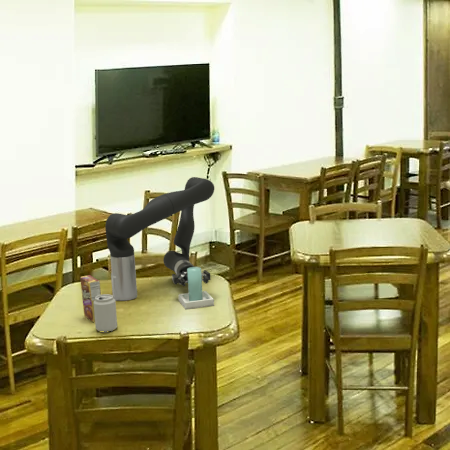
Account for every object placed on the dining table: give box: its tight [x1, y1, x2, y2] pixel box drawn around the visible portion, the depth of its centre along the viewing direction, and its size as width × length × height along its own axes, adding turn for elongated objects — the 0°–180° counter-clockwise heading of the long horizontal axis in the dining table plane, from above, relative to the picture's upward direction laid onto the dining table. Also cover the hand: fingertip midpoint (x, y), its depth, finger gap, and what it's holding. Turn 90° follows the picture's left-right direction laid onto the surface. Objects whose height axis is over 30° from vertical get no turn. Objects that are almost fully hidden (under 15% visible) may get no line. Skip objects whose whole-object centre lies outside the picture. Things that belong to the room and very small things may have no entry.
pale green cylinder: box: [187, 266, 203, 302], centre depth 289 cm, size 5×5×13 cm
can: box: [94, 293, 118, 333], centre depth 266 cm, size 8×8×12 cm
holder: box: [178, 290, 215, 310], centre depth 291 cm, size 11×11×2 cm
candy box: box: [79, 274, 102, 323], centre depth 277 cm, size 9×4×15 cm, turn 33°
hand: (195, 282), depth 288 cm, fingers open, 8 cm apart
